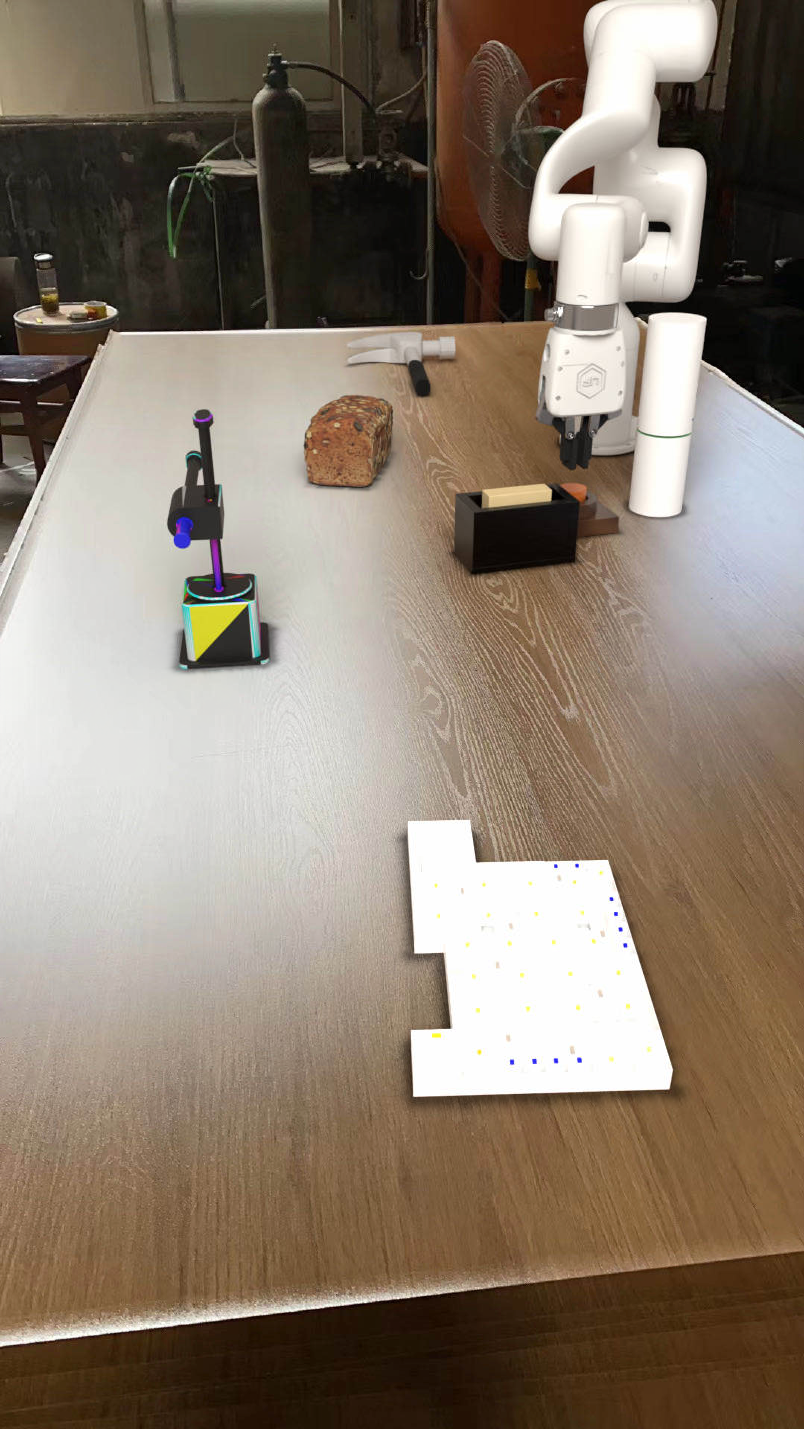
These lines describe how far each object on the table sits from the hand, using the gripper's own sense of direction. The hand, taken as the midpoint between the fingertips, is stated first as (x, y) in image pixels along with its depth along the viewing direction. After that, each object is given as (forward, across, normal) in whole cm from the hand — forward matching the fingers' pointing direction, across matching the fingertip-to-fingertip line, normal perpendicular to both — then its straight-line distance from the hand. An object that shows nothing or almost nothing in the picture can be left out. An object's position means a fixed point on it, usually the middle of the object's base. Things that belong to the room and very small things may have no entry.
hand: (574, 465), depth 140 cm
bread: (+8, -22, +32) cm, 40 cm away
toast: (+7, -11, -8) cm, 16 cm away
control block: (+8, 0, 0) cm, 8 cm away
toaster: (+8, -11, -8) cm, 16 cm away
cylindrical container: (+8, +14, +3) cm, 17 cm away
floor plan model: (+8, -36, -73) cm, 82 cm away
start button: (+5, 0, 0) cm, 5 cm away
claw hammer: (+8, +2, +84) cm, 84 cm away
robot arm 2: (+8, -48, -17) cm, 52 cm away
